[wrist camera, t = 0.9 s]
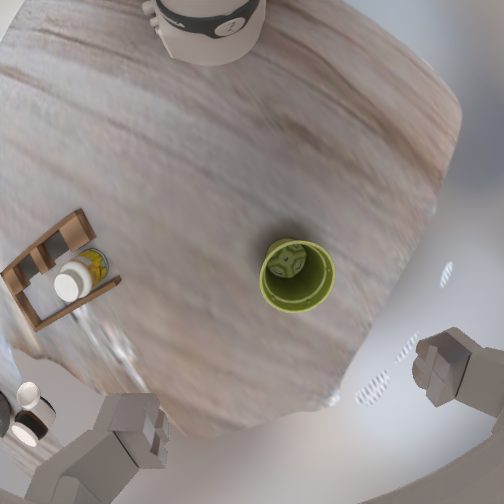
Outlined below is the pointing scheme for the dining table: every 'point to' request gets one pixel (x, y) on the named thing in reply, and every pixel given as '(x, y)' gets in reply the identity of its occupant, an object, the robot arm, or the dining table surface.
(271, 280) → the plant pot
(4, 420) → the potted plant
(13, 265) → the frame
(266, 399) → the dining table surface
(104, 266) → the supplement bottle
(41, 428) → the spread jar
